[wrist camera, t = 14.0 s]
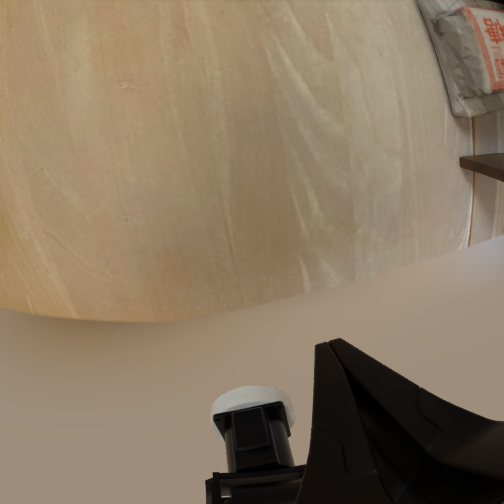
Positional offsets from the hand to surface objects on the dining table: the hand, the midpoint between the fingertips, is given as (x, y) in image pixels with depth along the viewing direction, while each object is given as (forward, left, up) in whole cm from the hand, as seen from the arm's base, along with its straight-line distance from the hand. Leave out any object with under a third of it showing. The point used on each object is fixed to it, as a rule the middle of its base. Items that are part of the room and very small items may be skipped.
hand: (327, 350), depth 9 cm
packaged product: (+12, -24, -12) cm, 29 cm away
